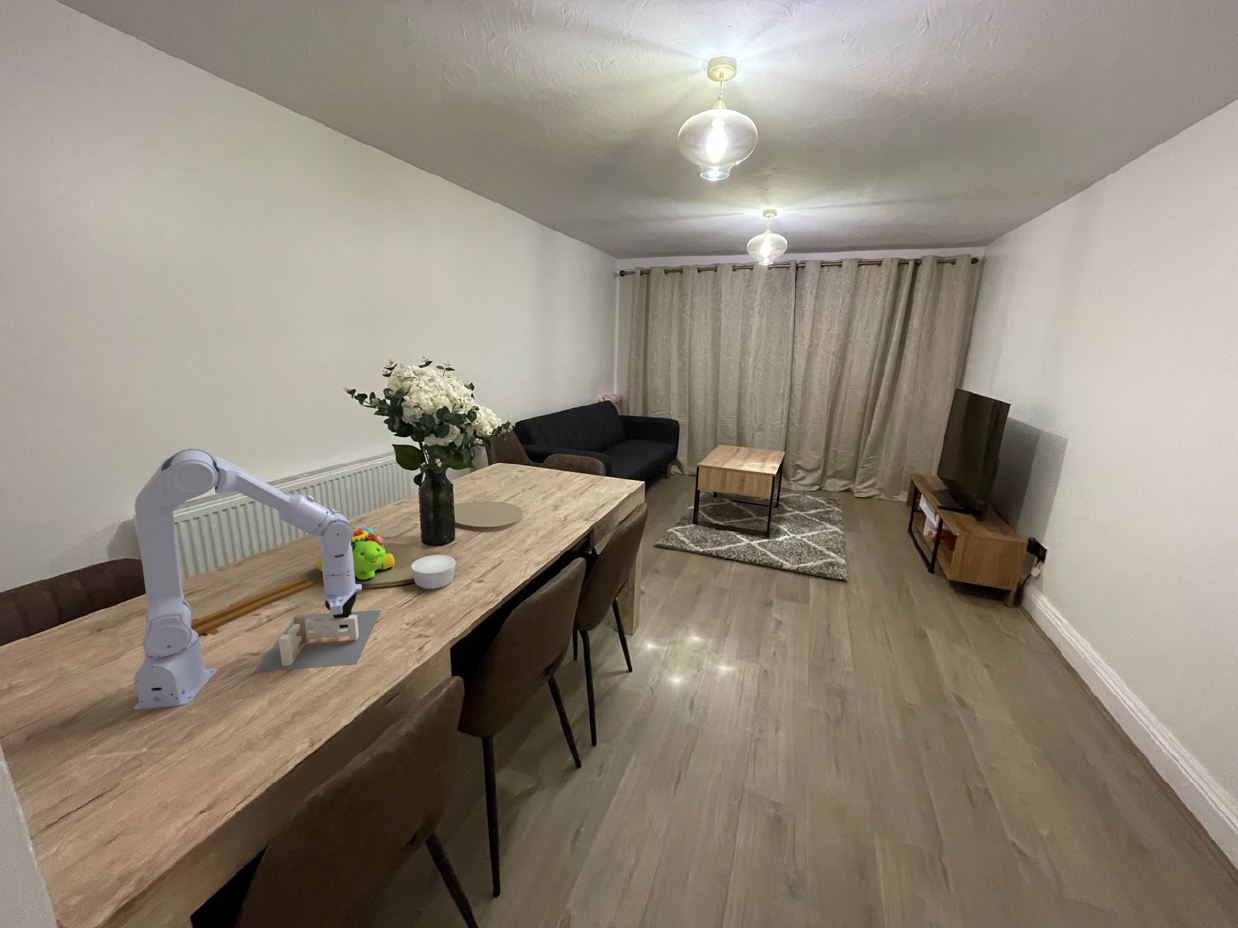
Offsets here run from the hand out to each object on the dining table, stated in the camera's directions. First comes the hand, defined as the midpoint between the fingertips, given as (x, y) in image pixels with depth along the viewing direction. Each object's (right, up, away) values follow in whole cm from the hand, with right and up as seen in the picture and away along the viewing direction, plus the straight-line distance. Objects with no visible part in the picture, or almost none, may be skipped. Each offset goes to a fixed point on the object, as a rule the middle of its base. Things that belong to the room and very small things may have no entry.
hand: (344, 626), depth 106 cm
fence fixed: (-7, -3, -6) cm, 9 cm away
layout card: (-4, -2, -1) cm, 4 cm away
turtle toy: (-11, +5, +29) cm, 31 cm away
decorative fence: (-27, +1, +10) cm, 28 cm away
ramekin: (+10, +3, +26) cm, 28 cm away
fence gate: (-1, -2, -2) cm, 3 cm away
